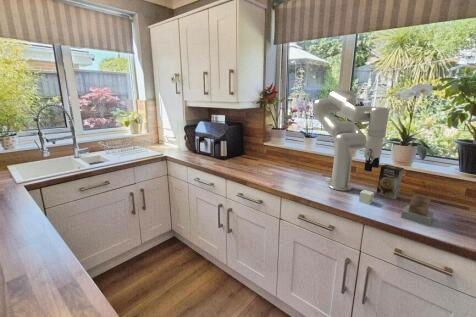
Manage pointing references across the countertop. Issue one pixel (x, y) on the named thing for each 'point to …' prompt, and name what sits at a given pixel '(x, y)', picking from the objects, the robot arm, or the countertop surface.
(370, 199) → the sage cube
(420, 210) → the walnut block
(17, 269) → the countertop surface
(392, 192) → the coffee box
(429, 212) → the plinth
